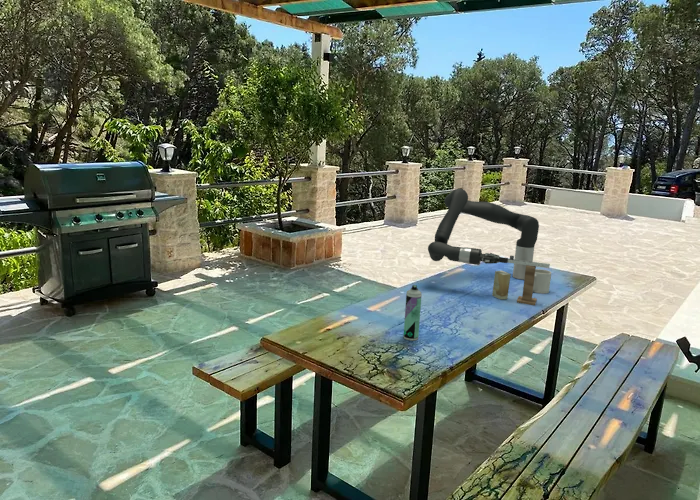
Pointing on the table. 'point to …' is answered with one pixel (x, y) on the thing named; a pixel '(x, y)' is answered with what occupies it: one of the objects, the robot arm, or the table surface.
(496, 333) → the table surface
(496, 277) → the skincare box
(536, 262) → the latch bar
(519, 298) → the post
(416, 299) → the spray can
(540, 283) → the mug
